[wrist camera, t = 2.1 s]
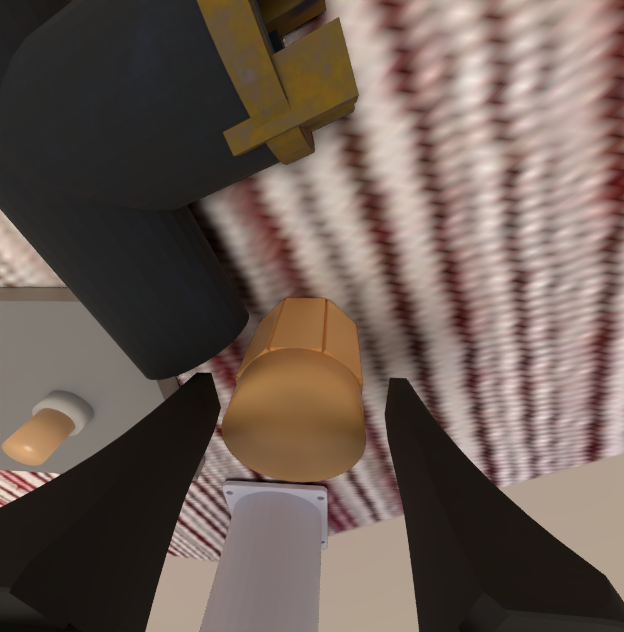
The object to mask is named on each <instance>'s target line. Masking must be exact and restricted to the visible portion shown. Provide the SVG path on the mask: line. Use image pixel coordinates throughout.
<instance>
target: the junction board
mask: <svg viewBox="0 0 624 632" xmlns="http://www.w3.org/2000/svg"><path fill="white" fill-rule="evenodd" d="M178 389H179V385H178V382H177V379H176V376H174V377H171V378H168V379H163V380H150V379H147V378H146V377H145V376H144V375H143V373H142V372H141V371H140V370H139V369H138V368H137V367H136V365H135V364H134V363H133V362H132V361H131V360H130V358H129V357H128V356H127V355H126V354H125V353H124V352H123V350H122V349H121V348H120V347H119V346H118V345H117V343H116V342H115V341H114V340H113V339H112V338H111V336H110V335H109V334H108V333H107V332H106V331H105V330H104V328H103V327H102V326H101V325H100V324H99V323H98V321H97V320H96V319H95V318H94V317H93V316H92V315H91V313H90V312H89V311H88V310H87V309H86V308H85V306H84V305H83V304H82V303H81V302H80V301H79V300H78V298H77V297H76V296H75V295H74V294H73V293H72V291H71V290H70V289H69V288H37V287H0V470H12V471H29V472H47V473H65V472H66V471H68V470H69V469H71V468H73V467H74V466H76V465H78V464H79V463H81V462H82V461H84V460H86V459H87V458H89V457H90V456H92V455H94V454H95V453H97V452H98V451H100V450H101V449H103V448H104V447H105V446H107V445H108V444H110V443H111V442H113V441H114V440H116V439H117V438H118V437H120V436H121V435H122V434H124V433H125V432H127V431H128V430H129V429H130V428H132V427H133V426H134V425H135V424H137V423H138V422H139V421H141V420H142V419H143V418H144V417H146V416H147V415H148V414H149V413H151V412H152V411H153V410H154V409H156V408H157V407H158V406H159V405H160V404H161V403H163V402H164V401H165V400H166V399H167V398H168V397H170V396H171V395H172V394H173V393H174V392H175V391H176V390H178ZM204 463H205V459H204V456H203V458H202V460H201V462H200V464H199V467H198V469H197V471H196V473H195V476H194V478H193V480H192V481H197V480H198V477H199V475H200V472H201V470H202V468H203V465H204Z"/></svg>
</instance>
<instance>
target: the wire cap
mask: <svg viewBox="0 0 624 632" xmlns="http://www.w3.org/2000/svg"><path fill="white" fill-rule="evenodd" d="M235 379H236V383H237V386H236V389H235V391H234V394H233V396H232V399H231V401H230V403H229V406H228V408H227V411H226V413H225V415H224V418H223V421H222V436H223V440H224V442H225V444H226V446H227V448H228V449H229V451H230V452H231V453H232V455H233V456H235V457H236V458H237V459H238V460H239V461H240V462H241V463H243V464H244V465H245V466H247V467H249V468H250V469H252V470H254V471H256V472H258V473H260V474H263V475H265V476H268V477H271V478H275V479H279V480H285V481H292V482H314V481H321V480H326V479H330V478H333V477H336V476H338V475H340V474H343V473H344V472H346V471H348V470H349V469H351V468H352V467H353V466H354V465H355V464H356V463H357V462H358V461H359V460H360V458H361V457H362V455H363V453H364V450H365V446H366V434H365V424H364V414H363V405H362V386H363V378H362V370H361V361H360V352H359V343H358V334H357V326H356V324H355V323H354V322H353V321H352V320H351V319H350V318H349V317H348V316H347V315H346V314H344V313H343V312H342V311H341V310H340V309H339V308H338V307H337V306H336V305H334V304H333V303H332V302H331V301H330V300H329V299H328V300H327V301H326V302H325V298H286V300H284V299H283V300H282V301H281V302H280V303H279V304H278V305H277V306H276V307H275V308H273V309H272V310H271V311H270V312H269V313H268V314H267V315H266V316H265V317H264V318H263V319H262V320H261V321H260V322H259V324H258V327H257V329H256V331H255V334H254V336H253V338H252V340H251V343H250V345H249V347H248V350H247V352H246V354H245V356H244V359H243V361H242V363H241V366H240V368H239V370H238V372H237V375H236V378H235Z"/></svg>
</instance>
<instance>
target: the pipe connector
mask: <svg viewBox="0 0 624 632" xmlns="http://www.w3.org/2000/svg"><path fill="white" fill-rule="evenodd" d="M325 10H326V6H325V0H73V1H71V0H0V209H1V211H2V212H3V213H4V214H5V215H6V216H7V217H8V219H9V220H10V221H11V222H12V223H13V224H14V226H15V227H16V228H17V229H18V230H19V231H20V232H21V234H22V235H23V236H24V237H25V238H26V239H27V241H28V242H29V243H30V244H31V245H32V246H33V247H34V249H35V250H36V251H37V252H38V253H39V254H40V256H41V257H42V258H43V259H44V260H45V261H46V263H47V264H48V265H49V266H50V267H51V268H52V269H53V271H54V272H55V273H56V274H57V275H58V276H59V278H60V279H61V280H62V281H63V282H64V283H65V284H66V286H67V287H68V288H69V289H70V290H71V291H72V293H73V294H74V295H75V296H76V297H77V298H78V300H79V301H80V302H81V303H82V304H83V305H84V306H85V308H86V309H87V310H88V311H89V312H90V313H91V315H92V316H93V317H94V318H95V319H96V320H97V321H98V323H99V324H100V325H101V326H102V327H103V328H104V330H105V331H106V332H107V333H108V334H109V335H110V336H111V338H112V339H113V340H114V341H115V342H116V343H117V345H118V346H119V347H120V348H121V349H122V350H123V352H124V353H125V354H126V355H127V356H128V357H129V358H130V360H131V361H132V362H133V363H134V364H135V365H136V367H137V368H138V369H139V370H140V371H141V372H142V373H143V375H144V376H145V377H146V378H147V379H150V380H163V379H168V378H171V377H174V376H177V375H180V374H182V373H185V372H187V371H189V370H191V369H193V368H195V367H197V366H199V365H201V364H202V363H204V362H206V361H207V360H209V359H210V358H212V357H214V356H215V355H217V354H218V353H219V352H220V351H222V350H223V349H224V348H226V347H227V346H228V345H229V344H230V343H231V342H232V341H233V340H235V339H236V338H237V336H238V335H239V334H240V333H241V332H242V331H243V329H244V328H245V326H246V325H247V322H248V320H249V313H248V312H247V310H246V308H245V306H244V304H243V303H242V301H241V299H240V297H239V296H238V294H237V292H236V290H235V289H234V287H233V285H232V283H231V282H230V280H229V278H228V276H227V274H226V273H225V271H224V269H223V267H222V266H221V264H220V262H219V260H218V259H217V257H216V255H215V253H214V252H213V250H212V248H211V246H210V245H209V243H208V241H207V239H206V237H205V236H204V234H203V232H202V230H201V229H200V227H199V225H198V223H197V222H196V220H195V218H194V216H193V215H192V213H191V211H190V209H189V208H188V206H187V205H188V204H190V203H192V202H194V201H196V200H198V199H201V198H203V197H205V196H207V195H209V194H211V193H214V192H216V191H218V190H220V189H222V188H225V187H227V186H229V185H231V184H233V183H235V182H238V181H240V180H242V179H244V178H246V177H248V176H251V175H253V174H255V173H257V172H259V171H261V170H264V169H266V168H268V167H270V166H272V165H274V164H277V163H279V162H282V163H283V164H286V165H288V164H290V163H292V162H294V161H297V160H299V159H301V158H303V157H305V156H308V155H310V154H312V153H314V151H315V147H314V140H313V136H312V132H313V131H315V130H317V129H319V128H321V127H323V126H325V125H327V124H329V123H331V122H334V121H336V120H338V119H340V118H342V117H344V116H346V115H348V114H350V113H352V112H354V109H355V107H354V103H356V102H357V99H358V96H359V94H358V90H357V86H356V82H355V78H354V74H353V70H352V66H351V63H350V59H349V55H348V51H347V47H346V43H345V39H344V35H343V31H342V27H341V23H340V19H339V17H338V18H336V19H334V20H333V21H331V22H329V23H327V24H326V25H324V26H322V27H320V28H319V29H317V30H315V31H313V32H312V33H310V34H308V35H306V36H305V37H303V38H301V39H300V40H298V41H296V42H294V43H293V44H291V45H289V46H287V47H286V48H285V46H284V43H283V38H282V36H283V35H285V34H286V33H288V32H290V31H291V30H293V29H295V28H297V27H298V26H300V25H302V24H303V23H305V22H307V21H308V20H310V19H312V18H314V17H315V16H317V15H319V14H320V13H322V12H324V11H325Z"/></svg>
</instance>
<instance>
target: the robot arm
mask: <svg viewBox="0 0 624 632" xmlns="http://www.w3.org/2000/svg"><path fill="white" fill-rule="evenodd" d="M220 410H221V406H220V403H219V399H218V395H217V392H216V388H215V384H214V381H213V377H212V373H196V374H195V375H194V376H192V377H191V378H190V379H189V380H188V381H187V382H186V383H184V384H183V385H182V386H181V387H180V388H179V389H178V390H176V391H175V392H174V393H173V394H172V395H171V396H170V397H168V398H167V399H166V400H165V401H164V402H163V403H161V404H160V405H159V406H158V407H157V408H156V409H154V410H153V411H152V412H151V413H149V414H148V415H147V416H146V417H144V418H143V419H142V420H141V421H139V422H138V423H137V424H135V425H134V426H133V427H132V428H130V429H129V430H128V431H127V432H125V433H124V434H122V435H121V436H120V437H118V438H117V439H116V440H114V441H113V442H111V443H110V444H108V445H107V446H105V447H104V448H103V449H101V450H100V451H98V452H97V453H95V454H94V455H92V456H90V457H89V458H87V459H86V460H84V461H82V462H81V463H79V464H78V465H76V466H74V467H73V468H71V469H69V470H68V471H66V472H65V473H63V474H61V475H60V476H58V477H56V478H54V479H53V480H51V481H49V482H47V483H46V484H44V485H42V486H40V487H38V488H37V489H35V490H33V491H31V492H29V493H27V494H26V495H24V496H22V497H20V498H18V499H16V500H14V501H12V502H10V503H8V504H6V505H4V506H2V507H0V632H145V630H146V626H147V622H148V619H149V615H150V611H151V607H152V603H153V600H154V596H155V592H156V589H157V585H158V582H159V578H160V575H161V571H162V568H163V564H164V561H165V558H166V554H167V551H168V548H169V545H170V542H171V539H172V535H173V532H174V529H175V526H176V523H177V520H178V517H179V514H180V511H181V508H182V505H183V502H184V499H185V497H186V494H187V492H188V489H189V487H190V485H191V482H192V480H193V478H194V476H195V473H196V471H197V469H198V467H199V464H200V462H201V460H202V458H203V455H204V453H205V451H206V449H207V446H208V444H209V442H210V440H211V437H212V435H213V433H214V430H215V427H216V423H217V420H218V417H219V413H220ZM385 421H386V430H387V438H388V443H389V447H390V452H391V456H392V461H393V465H394V469H395V473H396V478H397V482H398V486H399V491H400V495H401V499H402V504H403V510H404V515H405V522H406V529H407V536H408V543H409V550H410V558H411V566H412V573H413V582H414V590H415V598H416V607H417V615H418V624H419V632H624V602H623V600H622V599H621V597H620V596H619V594H618V593H617V591H616V590H615V589H614V587H613V586H612V584H611V583H610V581H609V580H608V579H607V577H606V576H605V575H604V574H602V573H601V572H600V571H599V570H597V569H596V568H595V567H593V566H592V565H591V564H589V563H588V562H587V561H585V560H584V559H583V558H581V557H580V556H579V555H577V554H576V553H575V552H573V551H572V550H571V549H570V548H568V547H567V546H565V545H564V544H563V543H562V542H560V541H559V540H558V539H556V538H555V537H554V536H553V535H551V534H550V533H549V532H548V531H547V530H545V529H544V528H543V527H542V526H541V525H539V524H538V523H537V522H536V521H534V520H533V519H532V518H531V517H530V516H528V515H527V514H526V513H525V512H524V511H523V510H521V508H520V507H518V506H517V505H516V504H515V503H514V502H513V501H512V500H511V499H509V498H508V497H507V496H506V495H505V494H504V493H503V492H502V491H500V490H499V489H498V488H497V487H496V486H495V485H494V484H493V483H492V482H491V481H490V480H489V479H488V478H487V477H486V476H485V475H484V474H483V473H482V472H481V471H480V470H479V469H478V468H477V467H476V466H475V465H474V464H473V463H472V462H471V461H470V460H469V459H468V457H467V456H466V455H465V454H464V453H463V452H462V451H461V450H460V449H459V448H458V446H457V445H456V444H455V443H454V442H453V441H452V439H451V438H450V437H449V436H448V435H447V433H446V432H445V431H444V430H443V428H442V427H441V426H440V425H439V423H438V422H437V421H436V420H435V418H434V417H433V416H432V414H431V413H430V412H429V410H428V409H427V408H426V406H425V405H424V403H423V402H422V401H421V399H420V398H419V396H418V395H417V393H416V392H415V390H414V389H413V387H412V386H411V384H410V383H409V381H408V380H407V379H406V378H390V381H389V388H388V395H387V402H386V409H385ZM222 489H223V492H224V495H225V498H226V501H227V504H228V507H229V510H230V513H231V516H232V518H231V521H230V525H229V528H228V532H227V535H226V539H225V542H224V546H223V550H222V553H221V557H220V560H219V564H218V567H217V571H216V575H215V578H214V582H213V585H212V588H211V592H210V596H209V599H208V603H207V606H206V610H205V613H204V617H203V621H202V624H201V627H200V631H199V632H318V619H319V593H320V592H319V591H320V565H321V550H325V549H326V548H327V546H328V545H327V544H328V541H327V540H328V524H327V489H326V488H325V487H324V486H315V485H297V484H279V483H262V482H244V481H225V482H224V483H223V486H222Z"/></svg>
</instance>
